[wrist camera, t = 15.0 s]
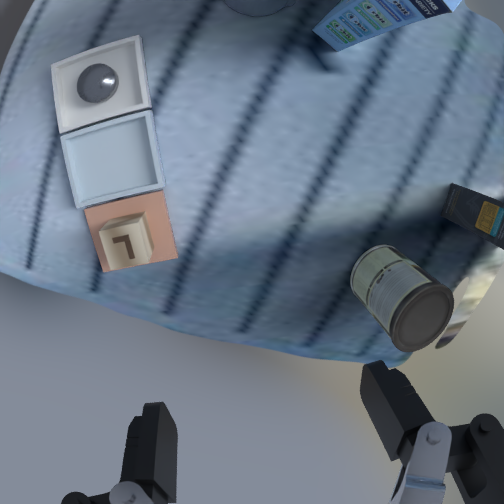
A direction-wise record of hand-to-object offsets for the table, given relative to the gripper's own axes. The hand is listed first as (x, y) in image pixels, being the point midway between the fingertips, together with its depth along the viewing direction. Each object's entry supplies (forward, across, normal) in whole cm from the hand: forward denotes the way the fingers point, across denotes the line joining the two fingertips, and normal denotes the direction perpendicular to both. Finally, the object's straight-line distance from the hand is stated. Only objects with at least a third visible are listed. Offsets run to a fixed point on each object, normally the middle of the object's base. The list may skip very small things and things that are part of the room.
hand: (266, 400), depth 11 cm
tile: (+32, +13, +2) cm, 34 cm away
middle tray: (+32, +13, -8) cm, 35 cm away
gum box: (+33, -23, -26) cm, 48 cm away
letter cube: (+31, +13, +2) cm, 33 cm away
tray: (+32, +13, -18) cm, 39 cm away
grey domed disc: (+31, +13, -18) cm, 38 cm away
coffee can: (+33, -22, +16) cm, 42 cm away
